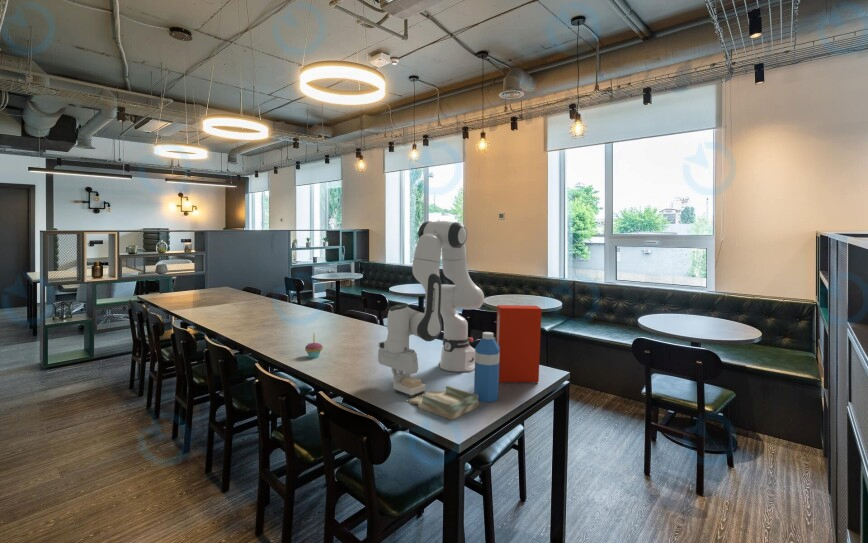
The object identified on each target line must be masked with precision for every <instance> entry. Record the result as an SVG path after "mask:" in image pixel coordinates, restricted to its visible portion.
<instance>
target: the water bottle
mask: <svg viewBox="0 0 868 543" xmlns="http://www.w3.org/2000/svg"><path fill="white" fill-rule="evenodd" d="M481 337H482V338H481V340H480V341H479V342H478V343H477V344H476V346H475V347H474V348H475V369H474V383H473V384H474V385H473V387H474V388H473V395H474V394H477V395H478V401H479V402H484V403H491V402H497V401H498V399H499V388H500V387H499V358H500V347H499V346H498V344H497V343H496V339H494V332H491V331H484V332H482V336H481Z"/></svg>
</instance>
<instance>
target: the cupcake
mask: <svg viewBox="0 0 868 543" xmlns="http://www.w3.org/2000/svg"><path fill="white" fill-rule="evenodd" d="M315 335H316V334H315V333H313V335H312V336H313V337H312V338H313V339H312V342H309V343H307V345H306V346H305V347H304V348H305V349H304V350H305V351H306V353H307V355H308V358H309V359H316V358H319V357H320V354H321V352H322V351H323V350H324V348H323V345H322V343H318V342H316V341H315V340H316V336H315Z"/></svg>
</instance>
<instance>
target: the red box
mask: <svg viewBox="0 0 868 543" xmlns="http://www.w3.org/2000/svg"><path fill="white" fill-rule="evenodd" d="M542 311H543V310H542V308H541V307H539V306H538V305H510V304H509V305H508V304H497V306H496V330H495V331H496V334H495V336H496V338H495V341H496V343H497V344H498V346H499V347H500V358H499V382H540V381H539V377H540V354H541V336H542V334H541V333H542V332H541V330H542Z"/></svg>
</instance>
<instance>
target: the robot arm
mask: <svg viewBox="0 0 868 543" xmlns="http://www.w3.org/2000/svg"><path fill="white" fill-rule="evenodd" d="M417 235H418V236H417V237H418V240H417V242H416V246H415V249H414V250H415V251H414V253H413V260H412V269H411V270H412V275H413V276H414V278H415V279H416V281H417V282H419V284H421V286H422V287H423V289H424V291H425V297H424V298H425V299H424V300H425V301H424V312H421V311H417V310H415V309H413V308H411V307H410V306H408V305H407V304H404V303H402V304H395V305H393V306H391V307H390V308H389V310H388V313H387V320H386V321H387V322H386V329H387V336H386V340H383V341H380V342H378V345H377V346H378V352H377V361H378V364H379V365H382V366H385V367H388V368H391V372H392V375H393V377H394V376H395V375H398V374H402V373H405V372H406V373H409V374H410V375H414V374H416V373H418V371H419V359H418V355H417V353H416V351H415V349H411V348H410V336H412V335H413V336H415V337H417V338H420V339H422V340H423V341H426V342H432V341H434V340H436V339H437V338H438V337H439V336H440V334H441V332H442V329H443V337H442V345H443V346H442V348H441V352H440V353H441V355H440V360H439V363H438V364H439V368H440V369H442V370H444V371H448V372H457V373H459V372H467V373H470V372H473V371H475V349H474V347H472V346H471V345H470V343H473V342H474V338H473V337H468V334H469V333H468V332H469V331H468V329H469V328H468V327H469V326H468V325H469V324H468V321H467V320H466V318H465V317H464V316H462V315H461V314H459V312H458V310H457V309H459V310H467V311H469V310H477V309H478V310H479V309H480V308H481V307H482V306H483V304H484V302H485V294H484V291H483V290H482V289H481V288H480V287H478V286H477V284H476V283H474V281H473V280H472V278H471V277H470V274H469V269H468V262H467V248H466V241H467V238H468V231H467V228H466V226H465V225H464V224H463V223H460V222H458V221H457V222H456V221H454V222H453V221H448V220H447V221H446V220H442V221H440V220H439V221H438V220H437V221H432V220H430V221H424V222H422V224H421V225H420V226H419V228H418V231H417ZM441 261H442V263H441ZM441 264H442V272H443V275H444V277H445V278H447V279H448V280H450V281H451V282H453V284H445V283H444V284H442V281H441V277H440V265H441ZM442 320H443V322H442ZM442 323H443V325H442ZM442 327H443V328H442Z"/></svg>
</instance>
